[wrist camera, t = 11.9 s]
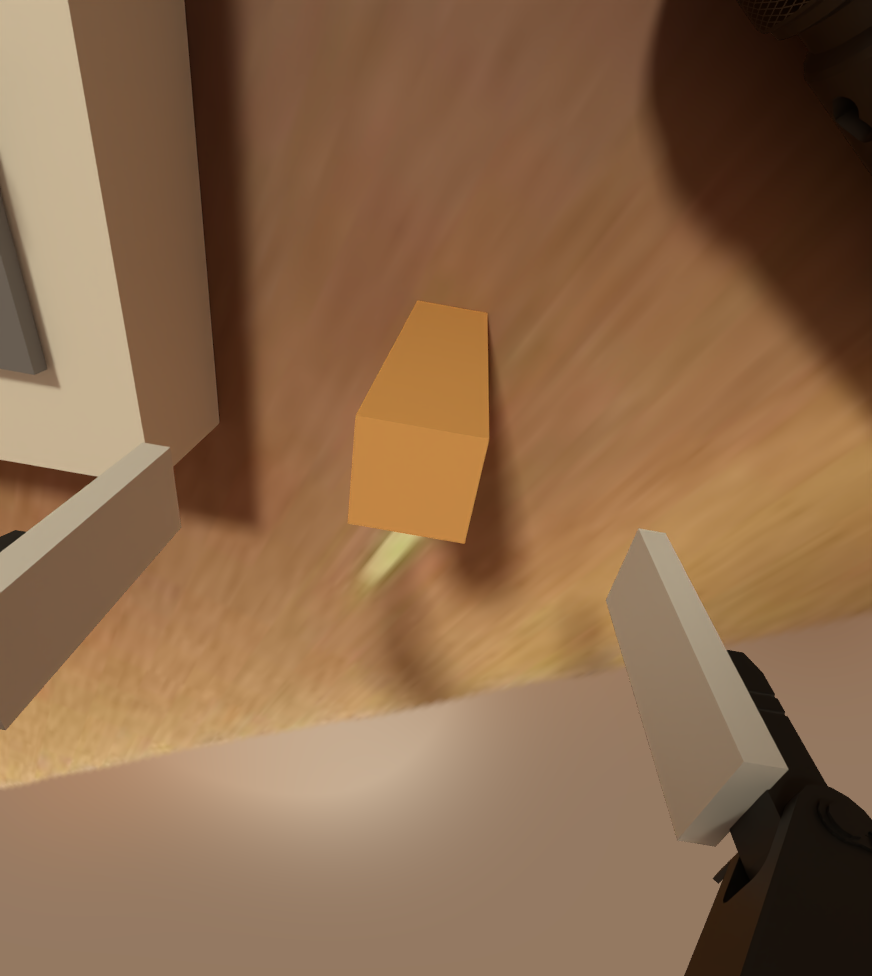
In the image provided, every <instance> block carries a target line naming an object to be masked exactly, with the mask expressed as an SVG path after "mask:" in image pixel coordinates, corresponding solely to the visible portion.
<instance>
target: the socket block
mask: <svg viewBox="0 0 872 976" xmlns="http://www.w3.org/2000/svg"><path fill="white" fill-rule="evenodd" d="M0 193H1V197H2V200H3V204H4V208H5V212H6V215H7V219H8V223H9V227H10V230H11V234H12V238H13V242H14V245H15V249H16V253H17V257H18V260H19V264H20V268H21V272H22V275H23V279H24V283H25V287H26V290H27V294H28V298H29V302H30V305H31V309H32V313H33V317H34V320H35V324H36V328H37V331H38V335H39V339H40V343H41V346H42V350H43V354H44V358H45V361H46V365H47V370H45V371H42V372H40V373H38V374H36V375H32V374H26V373H21V372H15V371H9V370H4V369H0V460H5V461H11V462H17V463H23V464H28V465H34V466H40V467H45V468H51V469H57V470H63V471H68V472H74V473H80V474H85V475H91V476H97V477H99V476H100V475H101V474H102V473H104V472H105V471H106V470H108V469H109V468H110V467H111V466H113V465H114V464H115V463H117V462H118V461H119V460H121V459H122V458H123V457H124V456H126V455H127V454H128V453H130V452H131V451H132V450H134V449H135V448H136V447H137V446H139V445H140V444H141V443H148V444H154V445H160V446H166V447H170V448H171V456H172V463H173V467H174V466H175V465H176V464H177V463H178V462H179V461H180V460H181V459H182V458H183V457H184V456H185V455H186V454H187V453H188V452H190V451H191V450H192V449H193V448H194V447H195V446H196V445H197V444H198V443H199V442H200V441H201V440H202V439H203V438H204V437H206V436H207V435H208V434H209V433H210V432H211V431H212V430H213V429H214V428H215V427H216V426H217V425H218V424H219V410H218V398H217V386H216V374H215V362H214V350H213V338H212V326H211V314H210V302H209V290H208V278H207V266H206V254H205V242H204V230H203V218H202V206H201V194H200V182H199V170H198V158H197V146H196V134H195V122H194V110H193V98H192V86H191V74H190V62H189V50H188V38H187V26H186V14H185V2H184V0H0Z"/></svg>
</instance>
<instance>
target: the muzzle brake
mask: <svg viewBox="0 0 872 976" xmlns="http://www.w3.org/2000/svg"><path fill="white" fill-rule="evenodd" d="M736 1H737V2H738V4H739V5H740V6H741V8H742V9H743V11H744V12H745V14H746V15H747V16H748V18H749V19H750V21H751V22H752V24H753V25H754V26H755V28H756V29H757V30H758V31H759V32H761V33H763V34H765V33H770V32H771V33H772V35H773V36H774V37H775V38H776V39H778V40H783V39H786V38H789V37H792V36H794V35H796V34H797V35H798V36H799V37H800V39H801V40H802V42H803V43H804V45H805V46H806V47H807V49H808V52H807V55H806V58H805V61H804V79H805V81H806V82H807V84H808V85H809V86H810V88H811V89H812V90H813V92H814V93H815V95H816V96H817V97H818V99H819V100H820V102H821V103H822V105H823V106H824V107H825V109H826V110H827V112H828V113H829V115H830V116H831V118H832V119H833V120H834V122H835V123H836V125H837V126H838V128H839V129H840V131H841V132H842V133H843V135H844V136H845V138H846V139H847V141H848V142H849V143H850V145H851V146H852V148H853V149H854V151H855V152H856V154H857V155H858V156H859V158H860V159H861V161H862V162H863V164H864V165H865V167H866V168H867V169H868V171H869V172H870V174H871V175H872V0H736Z"/></svg>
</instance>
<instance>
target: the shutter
mask: <svg viewBox="0 0 872 976" xmlns="http://www.w3.org/2000/svg"><path fill="white" fill-rule="evenodd" d="M0 369H4V370H9V371H15V372H21V373H26V374H32V375H36V374H38V373H40V372H42V371H45V370H47V365H46V361H45V358H44V354H43V350H42V346H41V343H40V339H39V335H38V331H37V328H36V324H35V320H34V317H33V313H32V309H31V305H30V302H29V298H28V294H27V290H26V287H25V283H24V279H23V275H22V272H21V268H20V264H19V260H18V257H17V253H16V249H15V245H14V242H13V238H12V234H11V230H10V227H9V223H8V219H7V215H6V212H5V208H4V204H3V200H2V197H1V193H0Z"/></svg>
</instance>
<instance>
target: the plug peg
mask: <svg viewBox="0 0 872 976" xmlns="http://www.w3.org/2000/svg"><path fill="white" fill-rule="evenodd" d="M488 442H489V386H488V315H487V313H485V312H480V311H474V310H468V309H463V308H457V307H452V306H446V305H441V304H435V303H430V302H424V301H418V300H417V302H416V304H415V306H414V308H413V310H412V312H411V313H410V315H409V317H408V319H407V321H406V323H405V325H404V326H403V328H402V330H401V332H400V334H399V336H398V338H397V339H396V341H395V343H394V345H393V347H392V349H391V351H390V353H389V354H388V356H387V358H386V360H385V362H384V364H383V366H382V367H381V369H380V371H379V373H378V375H377V377H376V379H375V380H374V382H373V384H372V386H371V388H370V390H369V392H368V393H367V395H366V397H365V399H364V401H363V403H362V405H361V407H360V408H359V410H358V412H357V414H356V419H355V432H354V445H353V459H352V472H351V485H350V499H349V512H348V523H349V524H354V525H360V526H366V527H372V528H377V529H383V530H389V531H394V532H400V533H406V534H412V535H417V536H423V537H429V538H434V539H440V540H446V541H452V542H457V543H463V544H465V540H466V535H467V531H468V527H469V523H470V518H471V514H472V510H473V506H474V502H475V497H476V493H477V489H478V485H479V480H480V476H481V472H482V468H483V463H484V459H485V455H486V451H487V446H488Z"/></svg>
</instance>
